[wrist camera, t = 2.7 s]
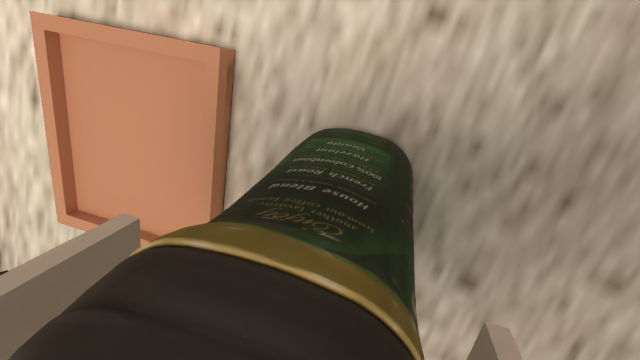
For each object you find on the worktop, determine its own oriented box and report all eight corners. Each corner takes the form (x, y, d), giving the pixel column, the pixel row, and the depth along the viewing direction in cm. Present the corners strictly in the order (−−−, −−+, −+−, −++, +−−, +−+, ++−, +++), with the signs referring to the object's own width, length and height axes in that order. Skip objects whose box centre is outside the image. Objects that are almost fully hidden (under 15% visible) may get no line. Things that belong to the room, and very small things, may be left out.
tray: (235, 50, 20) (220, 47, 18) (219, 258, 26) (206, 271, 24) (57, 15, 22) (29, 10, 21) (78, 213, 28) (57, 222, 26)
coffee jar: (301, 116, 20) (-240, 327, 3) (425, 143, 19) (656, 769, 2) (282, 243, 24) (-31, 678, 7) (386, 273, 22) (336, 924, 5)
